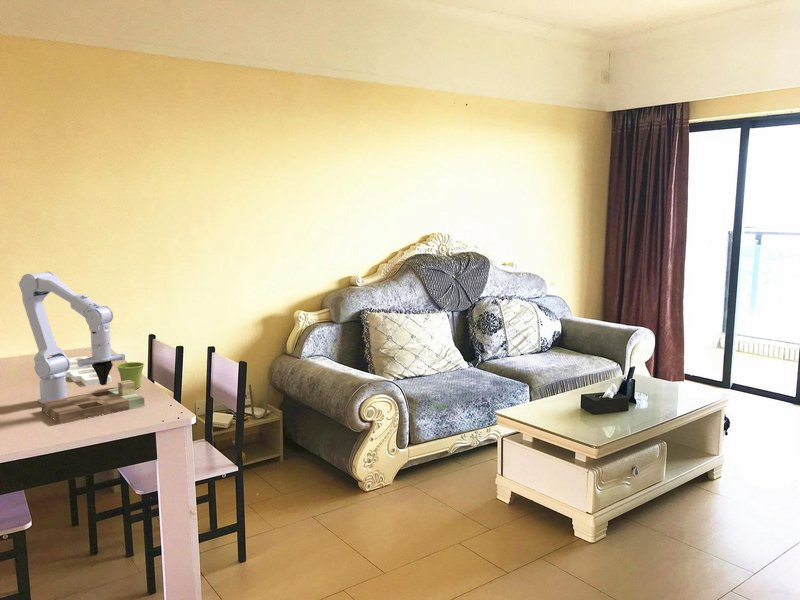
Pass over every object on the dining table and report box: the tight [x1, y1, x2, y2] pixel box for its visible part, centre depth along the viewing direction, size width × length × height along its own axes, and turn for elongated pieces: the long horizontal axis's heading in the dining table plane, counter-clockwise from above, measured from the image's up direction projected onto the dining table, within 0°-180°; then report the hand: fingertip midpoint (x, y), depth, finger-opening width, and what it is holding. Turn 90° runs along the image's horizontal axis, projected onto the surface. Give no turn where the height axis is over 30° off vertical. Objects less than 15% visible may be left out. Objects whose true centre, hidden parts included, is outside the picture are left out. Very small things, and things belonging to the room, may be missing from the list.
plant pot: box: [116, 361, 145, 390], centre depth 239 cm, size 9×9×9 cm
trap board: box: [40, 387, 146, 424], centre depth 214 cm, size 18×26×3 cm
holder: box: [65, 355, 112, 387], centre depth 260 cm, size 45×18×3 cm, turn 36°
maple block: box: [117, 380, 136, 396], centre depth 220 cm, size 4×4×4 cm
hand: (103, 384), depth 215 cm, fingers closed
